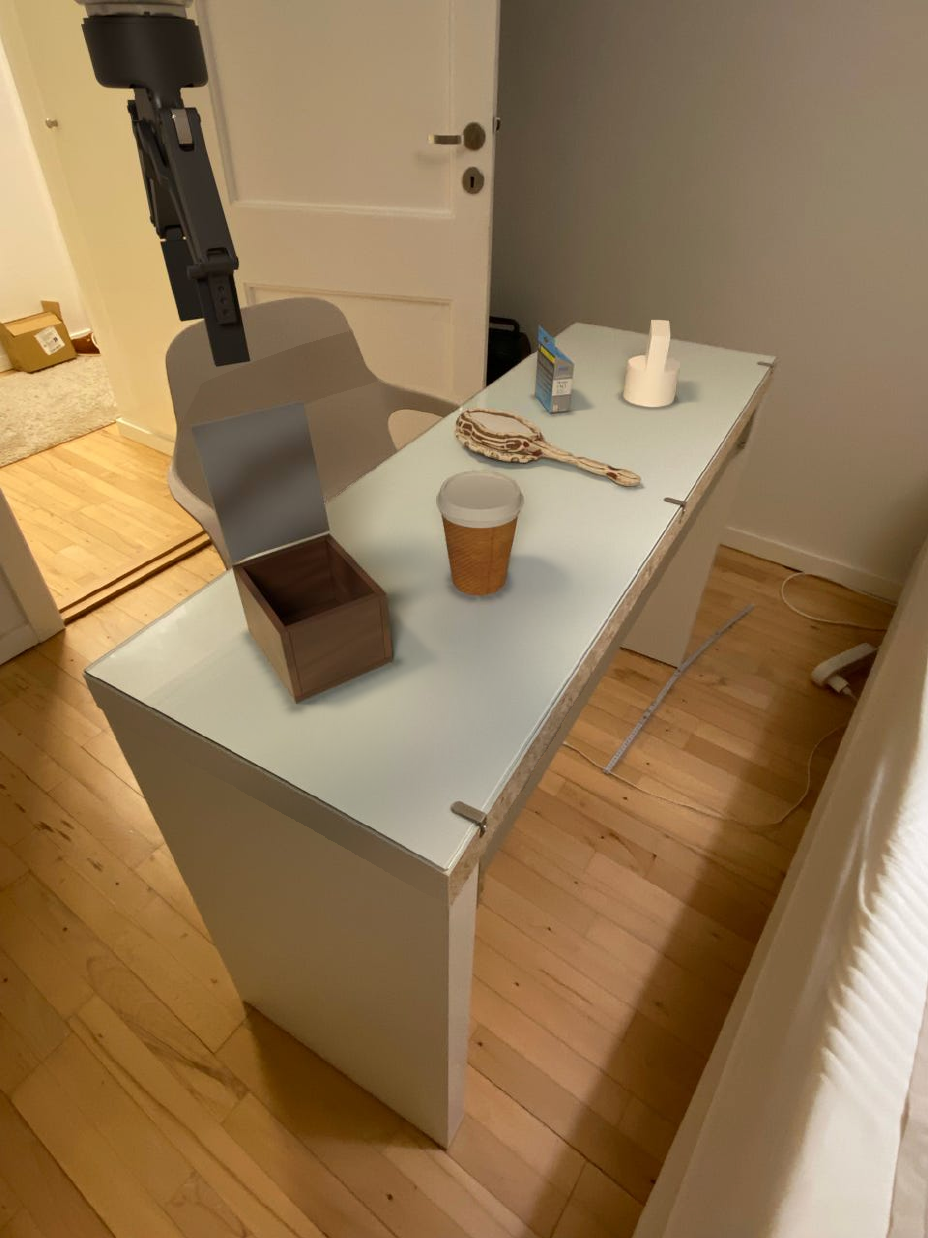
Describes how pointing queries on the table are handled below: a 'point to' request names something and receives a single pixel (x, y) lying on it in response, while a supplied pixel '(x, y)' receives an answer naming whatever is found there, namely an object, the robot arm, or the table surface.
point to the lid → (261, 478)
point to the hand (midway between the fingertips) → (212, 339)
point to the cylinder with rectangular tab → (653, 371)
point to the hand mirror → (522, 442)
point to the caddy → (314, 615)
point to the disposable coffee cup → (479, 528)
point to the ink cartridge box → (553, 375)
